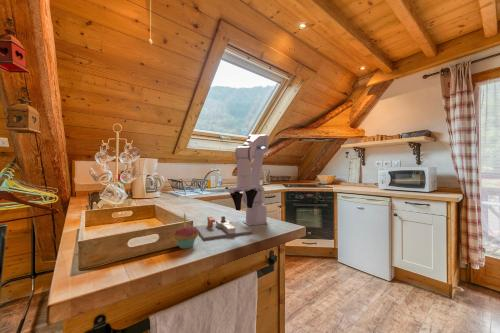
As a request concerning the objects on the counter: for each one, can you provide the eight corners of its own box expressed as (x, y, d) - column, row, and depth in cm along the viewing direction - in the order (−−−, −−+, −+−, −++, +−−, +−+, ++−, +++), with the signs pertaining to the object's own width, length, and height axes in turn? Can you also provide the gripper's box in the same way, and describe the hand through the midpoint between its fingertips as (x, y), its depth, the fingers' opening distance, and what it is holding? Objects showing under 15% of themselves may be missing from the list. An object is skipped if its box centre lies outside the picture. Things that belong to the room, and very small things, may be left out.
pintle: (224, 225, 101) (224, 216, 101) (225, 226, 100) (225, 217, 99) (220, 226, 100) (220, 216, 100) (221, 227, 99) (222, 217, 99)
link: (216, 225, 101) (216, 220, 101) (226, 223, 103) (226, 219, 103) (225, 234, 89) (225, 229, 89) (237, 232, 91) (237, 227, 91)
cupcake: (196, 250, 76) (196, 214, 75) (169, 251, 75) (169, 214, 75) (200, 241, 84) (200, 208, 84) (176, 241, 84) (176, 209, 83)
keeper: (211, 227, 102) (211, 216, 102) (215, 230, 97) (215, 218, 97) (207, 227, 101) (207, 216, 101) (210, 231, 96) (210, 219, 96)
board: (238, 223, 108) (238, 221, 108) (252, 233, 94) (252, 231, 94) (195, 228, 100) (195, 226, 100) (203, 240, 85) (203, 237, 85)
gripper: (249, 174, 101) (249, 205, 102) (223, 176, 91) (223, 210, 92) (261, 175, 96) (261, 207, 97) (235, 177, 86) (235, 213, 87)
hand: (244, 209), depth 94 cm, fingers open, 6 cm apart
